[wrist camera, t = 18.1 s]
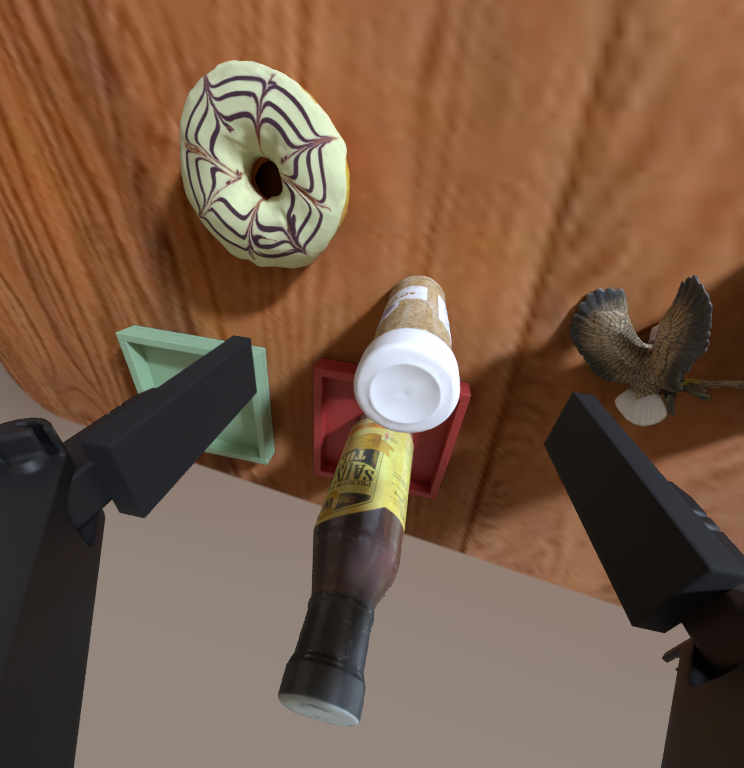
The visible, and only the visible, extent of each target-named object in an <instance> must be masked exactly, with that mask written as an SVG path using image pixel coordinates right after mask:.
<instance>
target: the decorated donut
mask: <svg viewBox="0 0 744 768" xmlns="http://www.w3.org/2000/svg"><path fill="white" fill-rule="evenodd" d="M346 153H347V149H346V145H345V142H344V140H343V139H342V138H341V136H340V135H339V133H338V131H337V130H336V129H335V127H334V125H333V124H332V122H331V120H330V118H329V117H328V115H327V114H326V113H325V112H324V111H323V109H322V108H321V107H320V106H319V104H318V103H317V102H316V101H315V100H314V98H313V97H312V96H311V95H310V94H309V93H308V92H307V91H305V90H304V89H303V88H302V87H301V86H300V85H299V84H298V83H297V82H296V81H294V80H292V79H291V78H289V77H288V76H287V75H285V74H283V73H281V72H279V71H276V70H273V69H271V68H269V67H267V66H265V65H262V64H260V63H257V62H253V61H236V60H232V61H227V62H225V63H222V64H219V65H217V66H216V68H215V69H214V70H213V71H211V72H210V73H208V74H206V75H205V76H203V77H202V78H201V79H200V80H199V81H198V83H197V84H196V85H195V87H194V88H193V89H192V90H191V91H190V92H189V95H188V98H187V99H186V102H185V106H184V109H183V114H182V117H181V120H180V154H181V155H180V159H181V173H182V179H183V184H184V189H185V192H186V196H187V198H188V200H189V202H190V203H191V205H192V206H193V208H194V210H195V211H196V213H197V216H198V218H199V219H200V220H201V221H202V223H203V224H204V226H205V227H206V228H207V229H208V230H209V232H210V233H211V234H212V235H213V236H214V237H215V238H216V239H218V241H219V242H220V243H222V245H223V246H224V247H225V248H226V249H227V250H228V252H229V253H231V254H232V255H234V256H236V257H238V258H240V259H249V260H250V261H252V262H253V263H254V264H256V265H257V266H260V267H270V266H278V267H285V268H300V267H304V266H307V265H309V264H311V263H312V262H313V261H314V260H315V259H316V258H317V257H318V255H319V254H320V253H322V252H323V251H324V250H325V248H326V247H327V245H328V243H329V242H330V241H331V240H332V239H333V237H334V236H335V234H336V233H337V231H338V229H339V228H340V226H341V224H342V222H343V220H344V218H345V216H346V214H347V208H348V203H349V190H350V173H349V167H348V163H347V159H346ZM267 160H268V161H271V160H272V161H273V162H274V163H275V164H276V165H277V167H278V169H279V173H280V177H281V180H282V184H283V190H282V192H281V194H280V195H279V196H274V197H271V198H269V199H268V198H266V197H265V196H264V195H263V194H262V193H261V192H260V191H259V189H258V187H257V184H256V182H255V174H256V172H257V170H258V168H259V167H261V164H262V163H266V162H267Z"/></svg>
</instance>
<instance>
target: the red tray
mask: <svg viewBox="0 0 744 768" xmlns="http://www.w3.org/2000/svg"><path fill="white" fill-rule="evenodd" d="M358 365H359V364H355V363H349V362H344V361H338V360H332V359H326V358H321V359H320V360H319V362H318V363H317V364H316V366H315V367H314V475H318V476H323V477H328V478H333V477H334V474H335V471H336V468H337V466H338V463H339V461H340V458H341V455H342V452H343V450H344V447H345V444H346V442H347V439H348V436H349V433H350V431H351V429H352V427H353V426H354V425H355V423H356V421H357V420H358V418H359V417H360V416H361V415H362V414H364V412H363V411H362V410H361V408H360V406H359V404H358V402H357V400H356V398H355V394H354V377H355V373H356V370H357V367H358ZM470 398H471V393H470V388H469V383H465V382H460V394H459V399H458V402H457V405H456V407H455V409H454V410H453V412H452V413H451V415H450V416H449V417H448V418H447V419H446V420H445V421H443V422H442V423H441V424H439V425H438V426H436V427H434V428H432V429H429V430H426V431H422V432H417V433H413V440H412V441H413V446H414V447H413V456H412V466H411V475H410V484H409V493H408V494H410V495H415V496H419V497H424V498H429V499H434V500H436V498H437V495H438V492H439V489H440V486H441V483H442V480H443V477H444V474H445V472H446V469H447V466H448V463H449V460H450V457H451V454H452V451H453V448H454V445H455V442H456V439H457V436H458V433H459V430H460V427H461V425H462V422H463V419H464V416H465V413H466V410H467V407H468V404H469V401H470Z"/></svg>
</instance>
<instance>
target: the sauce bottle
mask: <svg viewBox="0 0 744 768" xmlns="http://www.w3.org/2000/svg"><path fill="white" fill-rule="evenodd" d="M412 440H413V433H401V432H396V431H391V430H388V429H386V428H383V427H381V426H379V425H377V424H376V423H375V422H373V421H372V420H371V419H370V418H368V417H367V416H366V415H365V413H364V414H362V415H361V416H360V417H359V418H358V420H357V421H356V423H355V425H354V426H353V427H352V429H351V431H350V433H349V436H348V439H347V442H346V444H345V447H344V450H343V452H342V455H341V458H340V461H339V463H338V466H337V468H336V471H335V474H334V477H333V479H332V482H331V484H330V487H329V490H328V493H327V495H326V498H325V501H324V503H323V506H322V509H321V511H320V514H319V516H318V519H317V522H316V525H315V528H314V537H313V538H314V539H313V570H312V595H311V598H310V599H309V602H308V611H307V614H306V617H305V621H304V624H303V627H302V630H301V633H300V636H299V640H298V643H297V646H296V649H295V652H294V654H293V655H292V656H291V658H290V660H289V662H288V663H287V664H286V668H285V672H284V675H283V678H282V683H281V686H280V690H279V694H278V698H279V700H280V702H281V703H282V704H283V705H284V706H286V707H287V708H288V709H289V710H291V711H294V712H296V713H298V714H301V715H303V716H306V717H310V718H313V719H316V720H319V721H322V722H326V723H330V724H335V725H342V726H356V725H358V724H359V722H360V718H361V712H362V708H363V703H364V695H365V683H364V667H365V661H366V655H367V650H368V644H369V636H370V632H371V627H372V625H373V621H374V608H375V607H376V605H377V604H378V603H379V602H380V600H381V599H382V598H383V597H384V596H385V593H386V591H387V590H388V589H389V587H391V585H392V583H393V582H394V580H395V578H396V575H397V572H398V568H399V563H400V553H401V543H402V539H403V537H404V531H405V522H406V513H407V503H408V493H409V484H410V475H411V466H412V456H413V447H414V446H413V441H412Z"/></svg>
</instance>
